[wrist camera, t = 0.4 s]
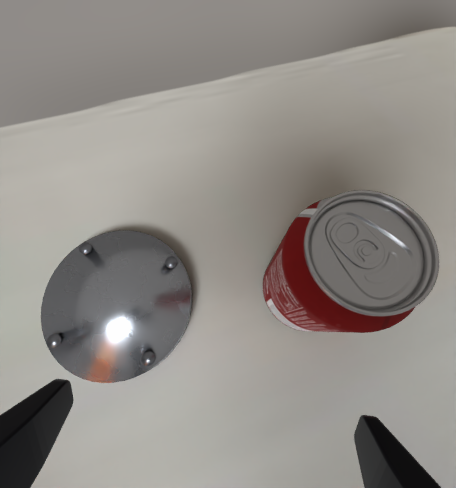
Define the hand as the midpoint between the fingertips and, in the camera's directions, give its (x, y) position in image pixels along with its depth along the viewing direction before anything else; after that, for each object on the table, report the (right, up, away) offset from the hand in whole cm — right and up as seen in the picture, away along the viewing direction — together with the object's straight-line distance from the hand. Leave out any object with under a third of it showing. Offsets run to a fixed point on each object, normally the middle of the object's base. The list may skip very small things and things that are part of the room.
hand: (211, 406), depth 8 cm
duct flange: (-8, 0, +14) cm, 17 cm away
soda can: (+7, +1, +15) cm, 16 cm away
